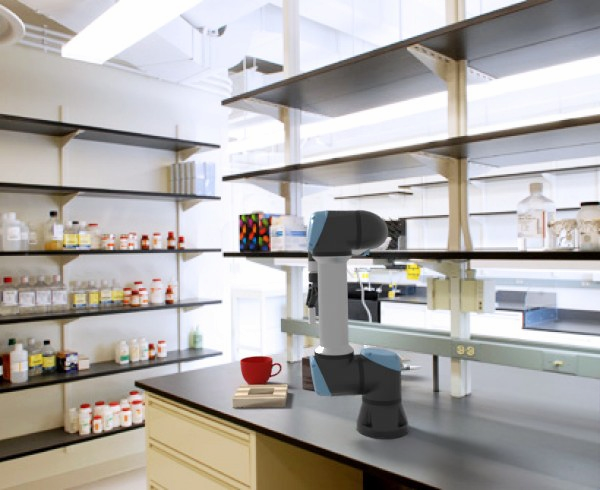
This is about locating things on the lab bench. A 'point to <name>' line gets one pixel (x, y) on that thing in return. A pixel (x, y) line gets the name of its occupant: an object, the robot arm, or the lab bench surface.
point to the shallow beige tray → (260, 396)
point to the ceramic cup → (257, 369)
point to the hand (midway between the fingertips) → (319, 326)
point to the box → (307, 374)
